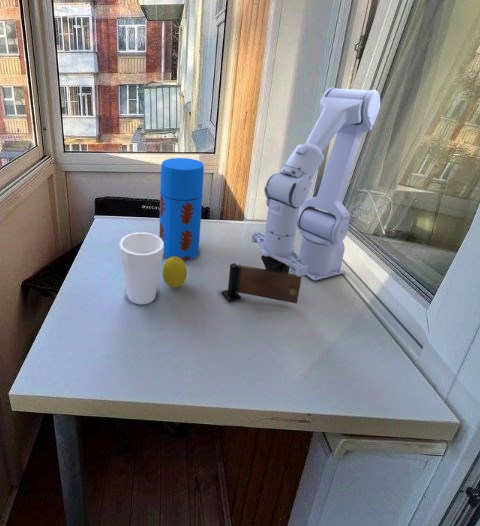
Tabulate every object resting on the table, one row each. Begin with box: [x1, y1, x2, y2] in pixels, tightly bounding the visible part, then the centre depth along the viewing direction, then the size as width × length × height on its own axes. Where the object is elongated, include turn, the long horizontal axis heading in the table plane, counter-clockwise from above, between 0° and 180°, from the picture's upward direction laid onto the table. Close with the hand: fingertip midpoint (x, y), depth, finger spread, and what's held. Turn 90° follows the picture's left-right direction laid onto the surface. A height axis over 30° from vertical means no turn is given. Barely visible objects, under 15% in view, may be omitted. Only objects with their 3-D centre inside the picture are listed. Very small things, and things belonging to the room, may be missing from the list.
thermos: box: [158, 157, 205, 262], centre depth 88 cm, size 11×11×25 cm
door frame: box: [221, 263, 291, 303], centre depth 74 cm, size 17×3×8 cm, turn 109°
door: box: [235, 264, 302, 305], centre depth 70 cm, size 13×2×6 cm, turn 72°
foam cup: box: [118, 231, 164, 305], centre depth 72 cm, size 10×9×13 cm
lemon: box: [161, 256, 188, 289], centre depth 75 cm, size 6×6×8 cm
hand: (272, 285), depth 73 cm, fingers closed
